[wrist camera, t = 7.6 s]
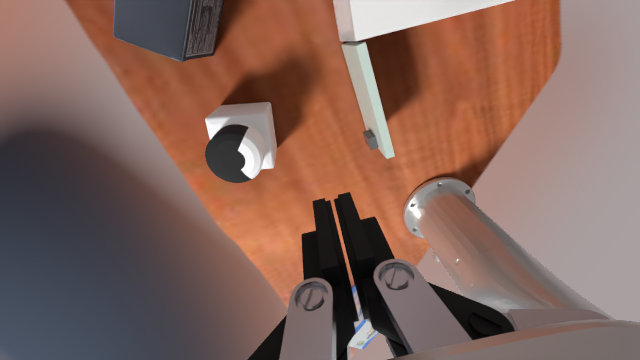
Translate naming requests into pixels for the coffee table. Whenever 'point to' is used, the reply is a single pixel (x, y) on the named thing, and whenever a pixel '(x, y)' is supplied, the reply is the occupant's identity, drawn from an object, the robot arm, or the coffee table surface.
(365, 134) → the side door
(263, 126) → the white square bottle
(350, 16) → the white cabinet
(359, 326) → the medicine box
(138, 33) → the small box
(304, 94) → the coffee table surface
